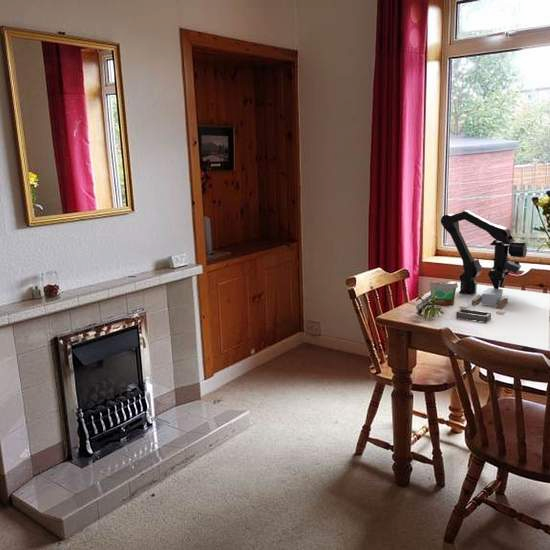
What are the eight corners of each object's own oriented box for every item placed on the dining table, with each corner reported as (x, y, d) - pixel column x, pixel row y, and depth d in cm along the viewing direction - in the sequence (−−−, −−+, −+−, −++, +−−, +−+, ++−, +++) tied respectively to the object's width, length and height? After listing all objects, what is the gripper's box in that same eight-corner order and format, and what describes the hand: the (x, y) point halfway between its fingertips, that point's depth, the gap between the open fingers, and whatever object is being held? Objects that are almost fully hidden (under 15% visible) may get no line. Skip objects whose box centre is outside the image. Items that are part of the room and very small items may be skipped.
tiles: (459, 308, 238) (459, 306, 238) (461, 306, 240) (461, 304, 240) (503, 314, 228) (503, 312, 228) (505, 312, 230) (505, 310, 230)
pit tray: (456, 318, 225) (456, 312, 224) (460, 314, 230) (460, 308, 229) (486, 322, 218) (487, 316, 217) (490, 318, 223) (491, 312, 222)
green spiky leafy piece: (419, 327, 231) (417, 300, 236) (446, 325, 227) (444, 297, 232) (414, 319, 222) (412, 291, 226) (442, 316, 217) (440, 287, 222)
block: (481, 304, 244) (482, 293, 243) (488, 298, 254) (488, 287, 252) (495, 306, 241) (496, 295, 239) (502, 300, 250) (502, 289, 249)
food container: (426, 306, 243) (427, 283, 241) (427, 302, 248) (428, 280, 246) (456, 308, 239) (457, 285, 237) (456, 304, 245) (458, 282, 242)
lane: (471, 304, 243) (472, 300, 243) (478, 299, 252) (478, 294, 252) (501, 308, 236) (501, 304, 236) (507, 302, 245) (507, 298, 245)
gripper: (515, 260, 240) (513, 295, 243) (524, 253, 255) (521, 286, 258) (488, 258, 246) (486, 292, 249) (498, 251, 261) (496, 284, 264)
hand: (498, 289), depth 255 cm, fingers open, 8 cm apart
